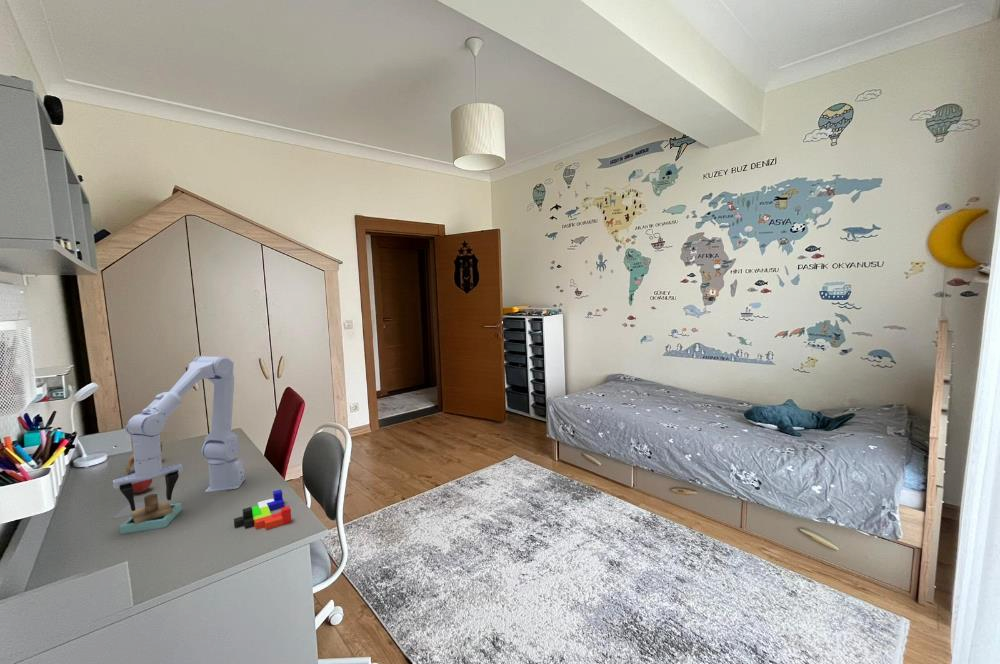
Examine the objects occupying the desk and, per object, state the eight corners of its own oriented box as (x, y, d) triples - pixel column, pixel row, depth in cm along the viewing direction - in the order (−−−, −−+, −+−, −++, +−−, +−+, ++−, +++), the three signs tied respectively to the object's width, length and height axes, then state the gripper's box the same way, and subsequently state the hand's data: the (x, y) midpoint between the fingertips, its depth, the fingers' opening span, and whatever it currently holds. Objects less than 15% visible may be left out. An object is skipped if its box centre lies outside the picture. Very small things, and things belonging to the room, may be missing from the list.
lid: (167, 503, 120) (166, 487, 120) (172, 512, 115) (171, 495, 114) (131, 514, 114) (129, 496, 114) (135, 524, 109) (133, 506, 108)
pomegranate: (138, 497, 129) (136, 473, 128) (124, 496, 130) (122, 472, 130) (157, 489, 135) (155, 466, 134) (143, 488, 136) (141, 464, 135)
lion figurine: (153, 460, 160) (152, 438, 159) (167, 460, 160) (166, 437, 159) (120, 476, 145) (118, 452, 144) (136, 476, 145) (134, 451, 145)
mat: (169, 499, 128) (168, 498, 128) (154, 513, 119) (154, 512, 119) (130, 504, 125) (129, 503, 125) (112, 519, 116) (111, 518, 116)
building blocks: (232, 516, 118) (231, 502, 118) (281, 502, 126) (281, 489, 125) (237, 540, 106) (236, 524, 106) (291, 523, 114) (291, 508, 114)
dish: (182, 510, 121) (181, 502, 120) (165, 528, 111) (164, 520, 111) (140, 516, 118) (140, 508, 117) (120, 535, 108) (119, 526, 108)
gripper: (177, 446, 121) (180, 490, 122) (110, 461, 110) (114, 509, 111) (182, 452, 116) (186, 498, 117) (113, 468, 105) (117, 518, 107)
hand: (151, 504), depth 114 cm, fingers open, 7 cm apart
